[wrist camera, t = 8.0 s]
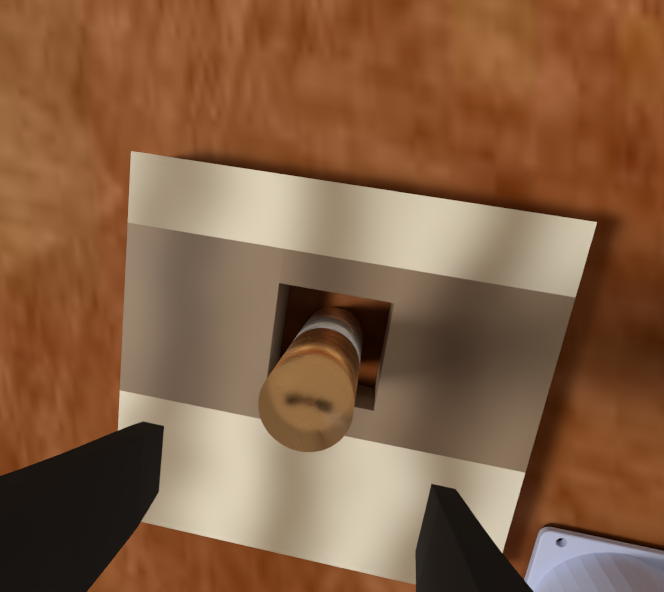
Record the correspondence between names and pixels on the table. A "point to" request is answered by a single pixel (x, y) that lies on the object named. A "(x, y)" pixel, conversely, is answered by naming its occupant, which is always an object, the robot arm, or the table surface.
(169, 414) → the board
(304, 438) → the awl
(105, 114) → the table surface
